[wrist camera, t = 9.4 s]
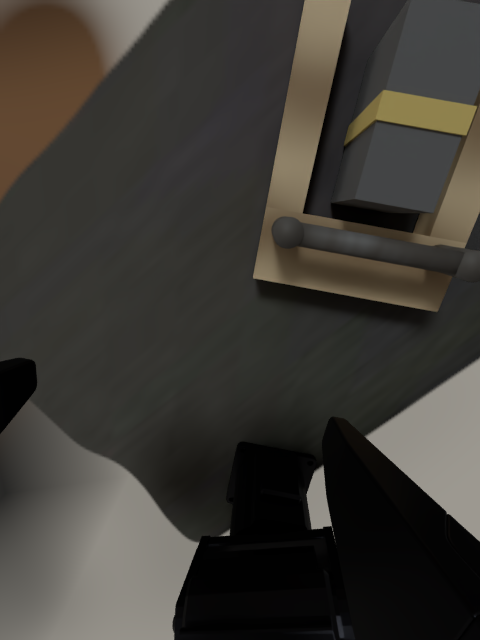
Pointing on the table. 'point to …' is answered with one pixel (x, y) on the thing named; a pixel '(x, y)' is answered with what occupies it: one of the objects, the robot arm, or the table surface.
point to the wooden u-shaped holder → (347, 237)
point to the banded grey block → (412, 109)
